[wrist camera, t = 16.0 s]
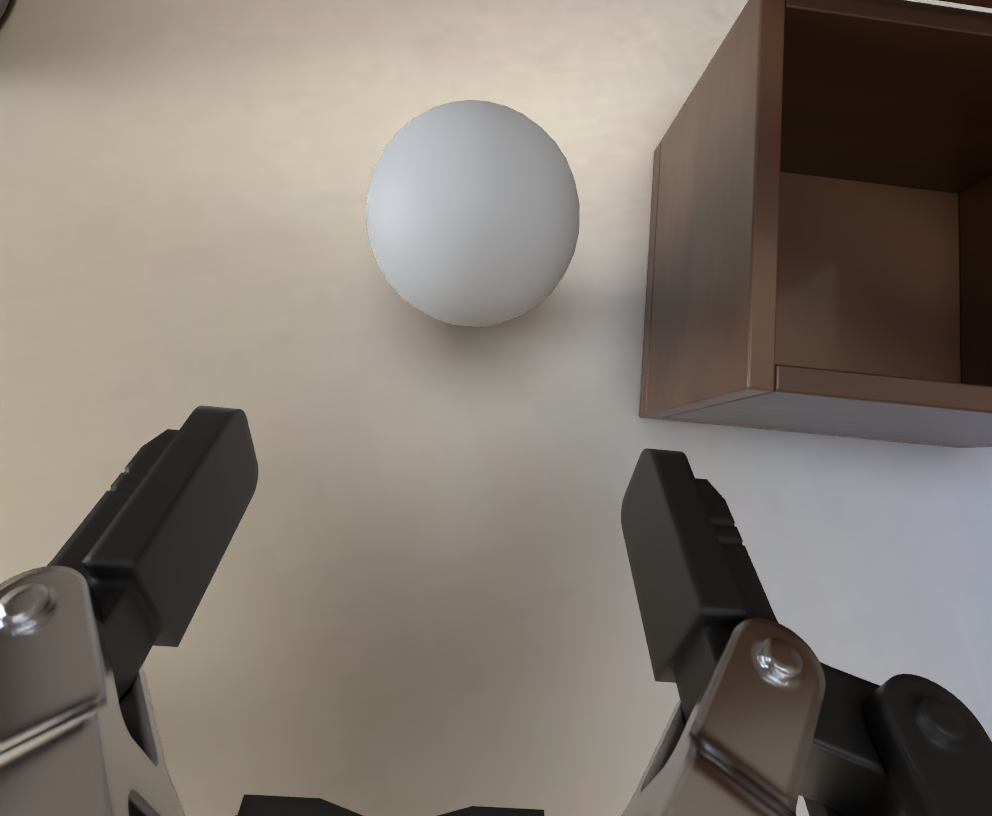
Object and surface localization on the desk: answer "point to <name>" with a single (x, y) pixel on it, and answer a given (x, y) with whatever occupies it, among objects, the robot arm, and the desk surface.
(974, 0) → the lid
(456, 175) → the lightbulb
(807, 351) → the chest
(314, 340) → the desk surface
